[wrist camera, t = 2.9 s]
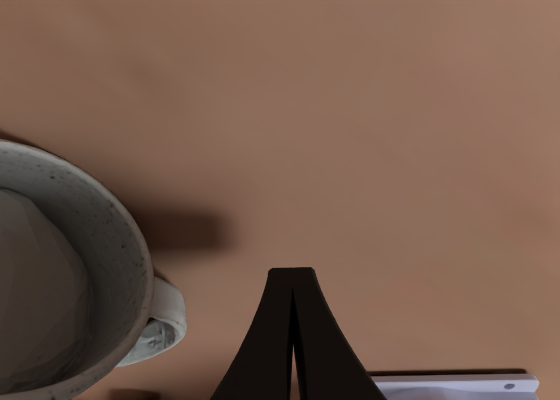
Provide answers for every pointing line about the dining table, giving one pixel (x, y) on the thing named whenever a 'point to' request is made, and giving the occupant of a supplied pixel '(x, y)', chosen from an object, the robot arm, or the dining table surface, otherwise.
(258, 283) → the dining table surface
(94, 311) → the ceramic mug
